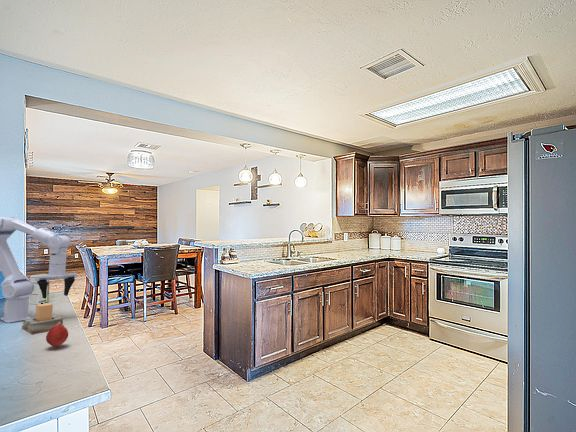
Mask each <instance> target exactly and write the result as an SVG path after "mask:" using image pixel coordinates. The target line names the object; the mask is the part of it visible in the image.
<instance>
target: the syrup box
mask: <svg viewBox="0 0 576 432" xmlns="http://www.w3.org/2000/svg"><path fill="white" fill-rule="evenodd" d="M40 275H49V273H48V274H46V273H41V274H33V275H30V279H29V280H30V281H31V282H32V283H33V284H34V291H33V292H32V293H31V294H30V296H29V303H30V304H29V305H34V304H41V303H43V304H45V302H48V303H49V300H50V299H49V297H50V283H51V282H50V281H51V280H46V281H47V282H48V286H47V297H46V298H42V292H41V289H40V287H39V285H38V283H37V281H35V276H40ZM48 279H49V278H48Z"/></svg>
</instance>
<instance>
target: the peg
mask: <svg viewBox="0 0 576 432" xmlns="http://www.w3.org/2000/svg"><path fill="white" fill-rule="evenodd" d="M53 306H54V305H53V304H52V303H49V302H48V303H43V304H38V305H36V309H35V317H36V318H35V317H34V318H35V321H36V322H40V321H46V320H51V319H52V315H53V309H54V308H53Z"/></svg>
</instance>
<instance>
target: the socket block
mask: <svg viewBox="0 0 576 432" xmlns="http://www.w3.org/2000/svg"><path fill="white" fill-rule="evenodd" d="M35 318H36V316H35V317H31V318H29V319H24V320H23V324H22V325H21V329H22V330H24V331H25V332H27V333H28V334H31V335H36V334H40V333H46V332H47V333H48V332H49V330H50V329H51V328H52V327H54V326H55V325H56V324H57V323H59V322H60V323H61V325H62V326H64V327H65V325H64V318H62V317H60V316H58V315H56V314H52V319H51V320H46V321H40V322H36V321H35Z"/></svg>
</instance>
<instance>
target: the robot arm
mask: <svg viewBox="0 0 576 432" xmlns="http://www.w3.org/2000/svg"><path fill="white" fill-rule="evenodd" d="M16 231H19V232H21V233H25V234H27V235H30V236H32V238H33V240H34V241H37V242H39V243H41V244H43V245H45V246H47V248H48V249H49V265H48V274H49V275H40V274H39V275H40V276H35V281H37V283H38V285H39V287H40V289H41V292H42V298H46V297H47V286H48V282H47V281H46V280H50V281H53V280H63V281H64V290H63V296H65V297H67V296H68V295H69V292H70V290H71V288H72V286H73V284H74V282H76V281H75V280H76V279H77V278H78V273H76V272H71V273H70V272H69V273H66V266H67V255H68V254H67V253H68V248H69V247H70V246H71V239H70V237H69V236H67V235H65V234H64V235H60V234H59V233H58V232H53V231H51V230H50V229H49V228H47V227H40V228H37V227H34V226H33V225H30V224H29V223H27V222H25V221H23V220H21V219H19V218H15V217H13V216H12V217H11V216H10V217H8V216H7V217H6V216H0V271H1V274H2V276H3V278H4V280H3V281H2V282H1V283H0V286H1V293H2V296H3V297H4V298H5V302H4V305H3V317H0V320H1V321H3V322H5V323H7V324H8V323H9V324H10V323H15V322H21V321H22V322H23V321H24V319H29V318H32V317H31V316H29V305H30V304H29V296H30V294H31V293H32V292H33V291H34V284H33V283H32V282H31V281H30V279H29V277H28V276H27V275H26V274H23V273H22V272H21V270H20V267H19V265H18V264H17V261H16V259H15V257H14V255H13V253H12V250H11V248H10V246H9V243H8V241H7V240H8V239H10V237H11V236H12V235H13V234H14V233H15V232H16ZM48 278H49V279H48Z"/></svg>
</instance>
